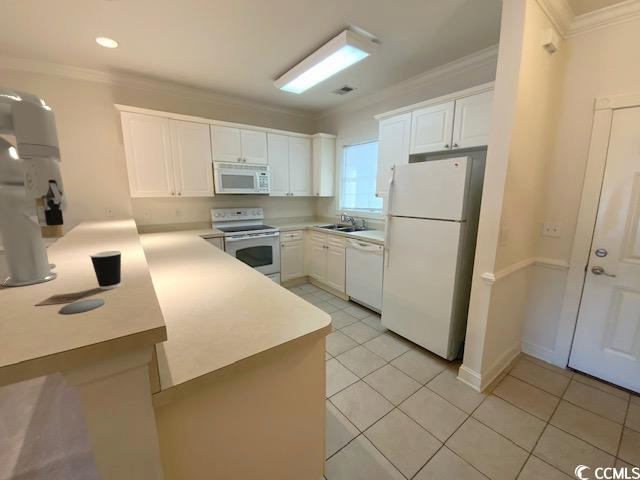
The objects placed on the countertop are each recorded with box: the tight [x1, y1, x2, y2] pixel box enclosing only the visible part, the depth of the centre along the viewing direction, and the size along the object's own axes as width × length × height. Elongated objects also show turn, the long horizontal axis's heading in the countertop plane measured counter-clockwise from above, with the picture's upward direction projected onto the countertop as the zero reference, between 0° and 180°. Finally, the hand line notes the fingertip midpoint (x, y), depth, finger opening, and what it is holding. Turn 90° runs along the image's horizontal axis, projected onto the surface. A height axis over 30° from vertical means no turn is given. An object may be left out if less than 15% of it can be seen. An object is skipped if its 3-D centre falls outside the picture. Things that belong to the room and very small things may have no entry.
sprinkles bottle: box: [35, 195, 66, 239], centre depth 70 cm, size 5×5×13 cm
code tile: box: [34, 291, 89, 307], centre depth 73 cm, size 8×8×1 cm
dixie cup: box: [89, 250, 123, 290], centre depth 82 cm, size 8×8×11 cm
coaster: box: [60, 298, 105, 315], centre depth 68 cm, size 8×8×1 cm
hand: (51, 224), depth 70 cm, fingers closed on sprinkles bottle, 4 cm apart
